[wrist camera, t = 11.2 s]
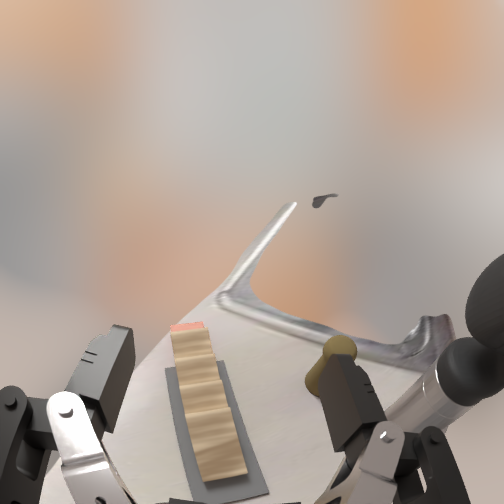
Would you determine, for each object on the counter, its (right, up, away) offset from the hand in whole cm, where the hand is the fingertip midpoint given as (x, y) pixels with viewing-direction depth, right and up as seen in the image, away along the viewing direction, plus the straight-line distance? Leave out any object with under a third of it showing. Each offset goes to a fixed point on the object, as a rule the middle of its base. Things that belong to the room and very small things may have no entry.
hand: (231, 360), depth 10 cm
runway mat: (-5, -22, +23) cm, 32 cm away
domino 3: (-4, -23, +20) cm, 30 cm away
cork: (+13, -18, +32) cm, 39 cm away
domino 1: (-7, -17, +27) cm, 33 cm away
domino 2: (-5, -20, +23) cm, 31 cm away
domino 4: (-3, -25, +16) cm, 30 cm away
